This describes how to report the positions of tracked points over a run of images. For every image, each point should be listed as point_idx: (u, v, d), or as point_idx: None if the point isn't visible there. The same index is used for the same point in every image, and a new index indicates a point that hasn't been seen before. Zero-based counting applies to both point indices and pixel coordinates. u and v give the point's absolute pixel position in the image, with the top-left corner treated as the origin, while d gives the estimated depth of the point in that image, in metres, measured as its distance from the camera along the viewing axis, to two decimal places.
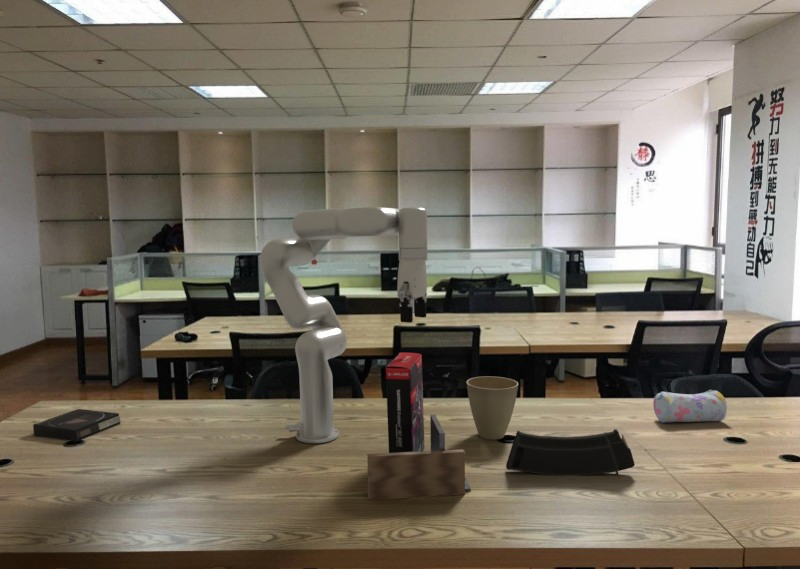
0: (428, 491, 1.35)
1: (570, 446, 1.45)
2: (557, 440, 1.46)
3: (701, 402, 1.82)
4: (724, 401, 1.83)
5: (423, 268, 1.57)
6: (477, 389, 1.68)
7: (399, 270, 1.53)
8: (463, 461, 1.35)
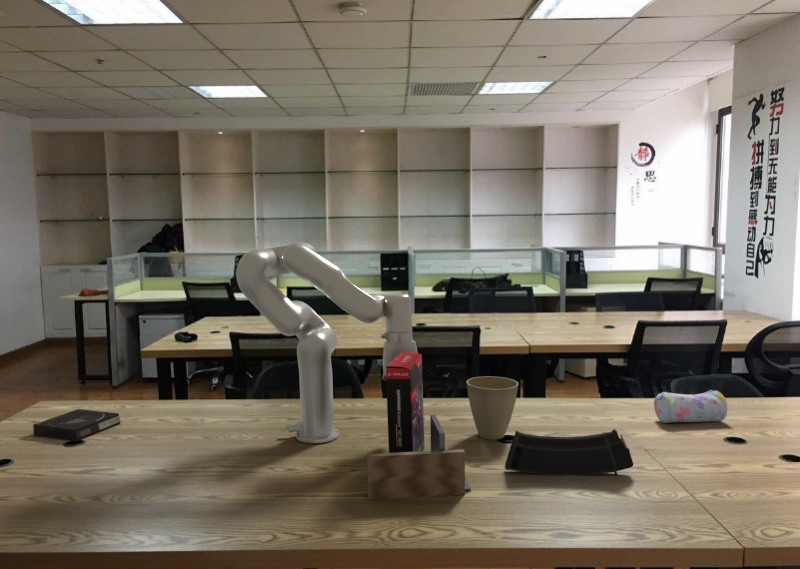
0: (428, 491, 1.35)
1: (569, 446, 1.45)
2: (556, 440, 1.46)
3: (702, 402, 1.82)
4: (725, 401, 1.83)
5: None
6: (477, 389, 1.68)
7: (416, 350, 1.70)
8: (463, 461, 1.35)
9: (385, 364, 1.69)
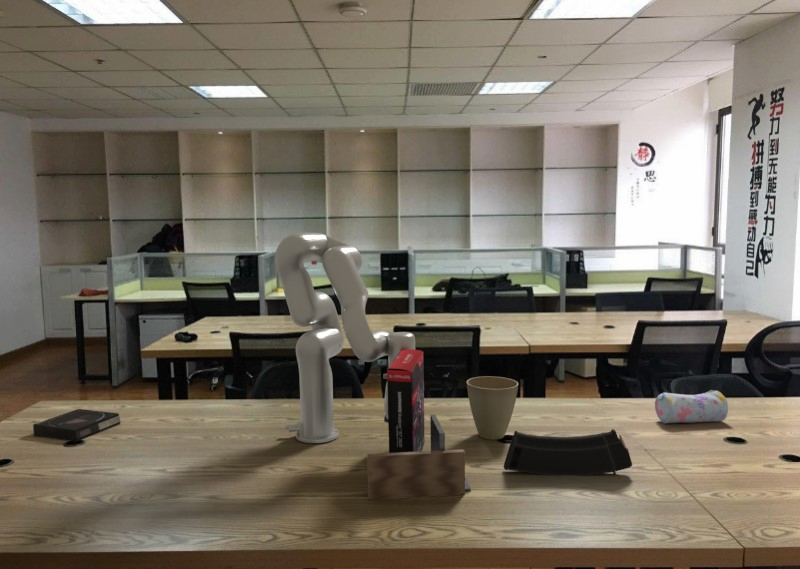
0: (428, 491, 1.35)
1: (568, 446, 1.45)
2: (555, 440, 1.46)
3: (702, 402, 1.82)
4: (726, 401, 1.83)
5: None
6: (477, 389, 1.68)
7: None
8: (463, 461, 1.35)
9: (387, 406, 1.63)
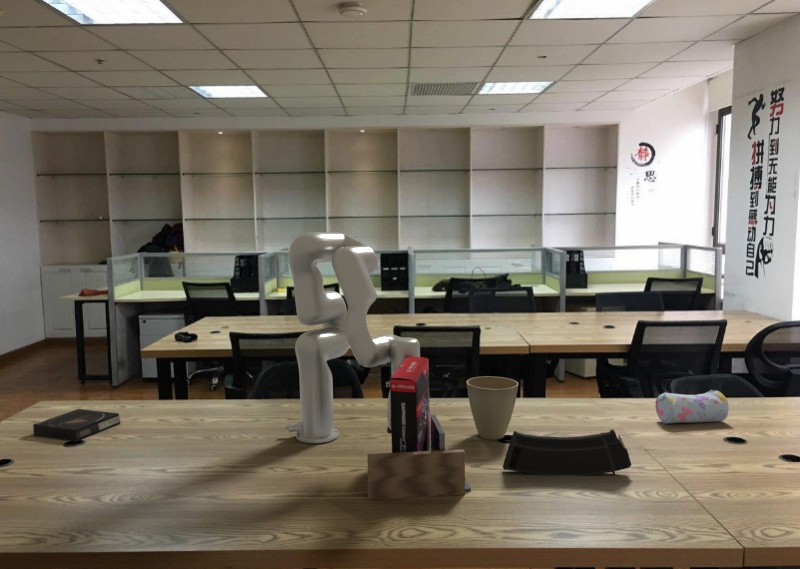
0: (428, 491, 1.35)
1: (567, 446, 1.45)
2: (554, 440, 1.46)
3: (703, 403, 1.82)
4: (726, 401, 1.83)
5: None
6: (477, 389, 1.68)
7: None
8: (463, 461, 1.35)
9: (390, 416, 1.53)
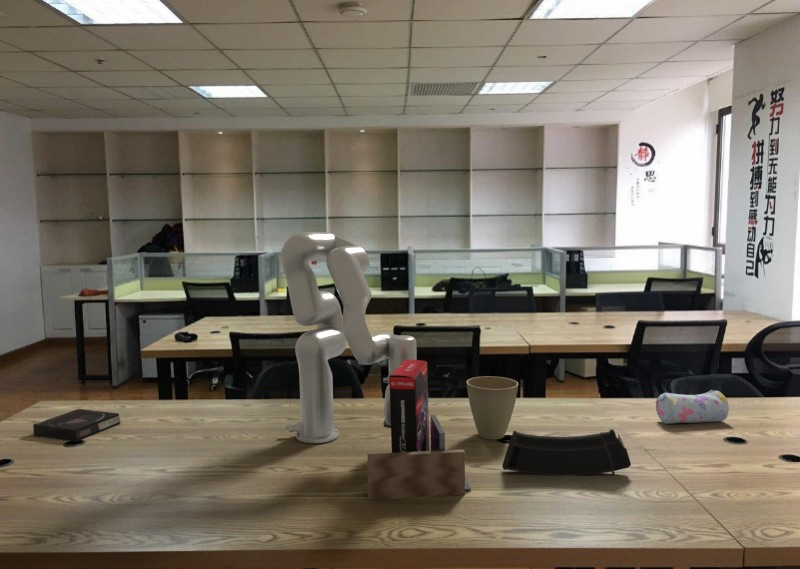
0: (428, 491, 1.35)
1: (566, 446, 1.45)
2: (554, 440, 1.46)
3: (703, 403, 1.82)
4: (726, 401, 1.83)
5: None
6: (477, 389, 1.68)
7: None
8: (463, 461, 1.35)
9: (386, 410, 1.59)
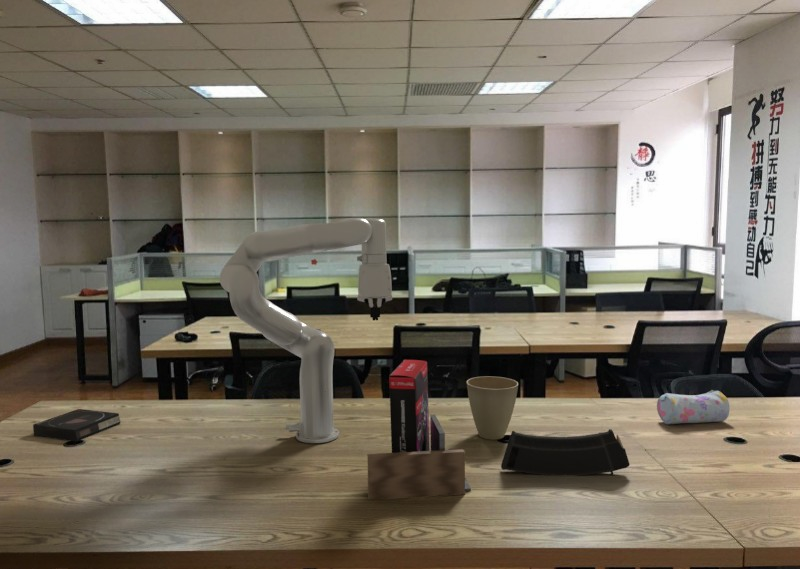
0: (428, 491, 1.35)
1: (565, 446, 1.45)
2: (552, 440, 1.46)
3: (705, 403, 1.81)
4: (727, 401, 1.83)
5: None
6: (477, 389, 1.68)
7: (390, 272, 1.80)
8: (463, 461, 1.35)
9: (359, 284, 1.79)
